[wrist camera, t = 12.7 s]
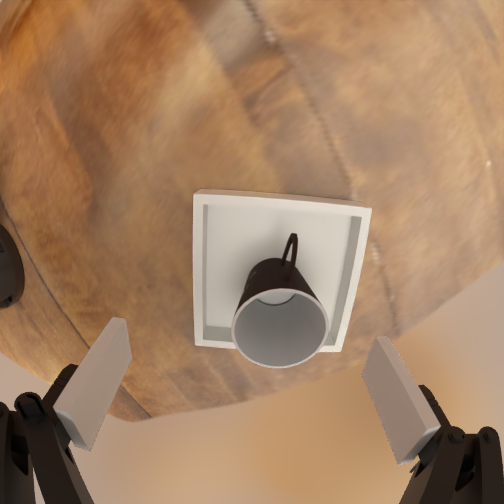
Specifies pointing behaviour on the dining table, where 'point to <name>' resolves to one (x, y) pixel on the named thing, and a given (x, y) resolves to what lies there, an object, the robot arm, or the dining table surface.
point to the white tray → (274, 254)
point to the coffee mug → (279, 314)
